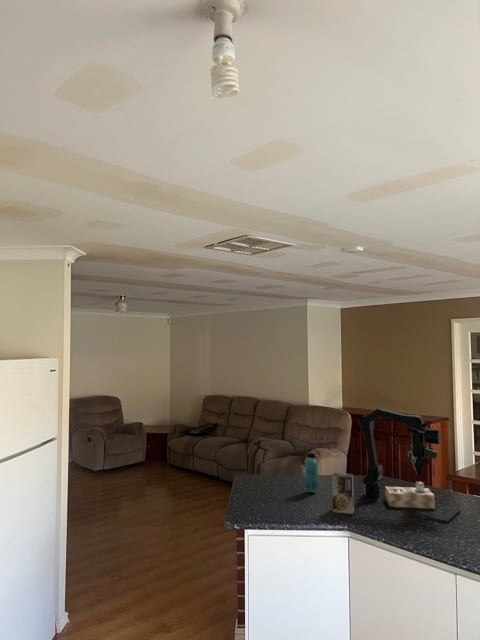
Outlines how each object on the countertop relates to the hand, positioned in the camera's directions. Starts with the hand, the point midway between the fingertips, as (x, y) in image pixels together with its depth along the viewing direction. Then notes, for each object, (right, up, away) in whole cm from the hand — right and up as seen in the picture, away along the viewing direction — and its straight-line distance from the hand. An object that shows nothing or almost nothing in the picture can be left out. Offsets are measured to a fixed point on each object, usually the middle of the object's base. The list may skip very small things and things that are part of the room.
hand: (419, 475), depth 222 cm
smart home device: (+5, -13, -17) cm, 22 cm away
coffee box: (-39, -12, -12) cm, 42 cm away
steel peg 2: (0, -9, -1) cm, 9 cm away
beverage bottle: (-49, -15, +17) cm, 54 cm away
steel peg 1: (-10, -13, 0) cm, 16 cm away
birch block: (-5, -13, 0) cm, 14 cm away
